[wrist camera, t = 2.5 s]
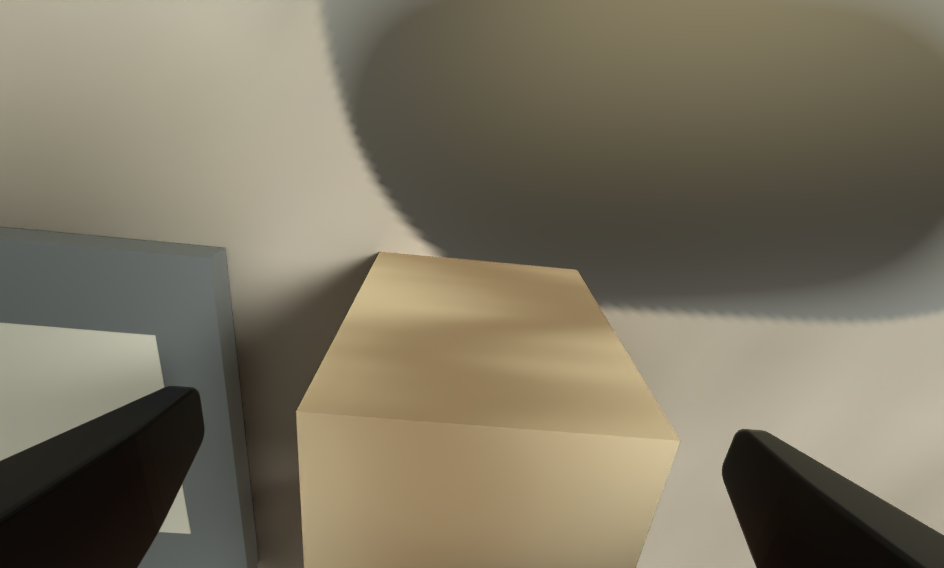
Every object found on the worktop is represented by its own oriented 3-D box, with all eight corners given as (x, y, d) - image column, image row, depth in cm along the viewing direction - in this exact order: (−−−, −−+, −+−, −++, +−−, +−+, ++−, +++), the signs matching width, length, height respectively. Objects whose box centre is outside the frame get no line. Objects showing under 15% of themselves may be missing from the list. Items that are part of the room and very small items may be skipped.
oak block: (576, 269, 10) (680, 440, 5) (544, 425, 11) (600, 667, 6) (379, 250, 9) (296, 411, 5) (375, 413, 11) (309, 652, 6)
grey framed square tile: (225, 247, 9) (209, 259, 9) (258, 562, 13) (248, 585, 12) (-211, 207, 9) (-258, 216, 8) (-53, 544, 12) (-78, 566, 12)
